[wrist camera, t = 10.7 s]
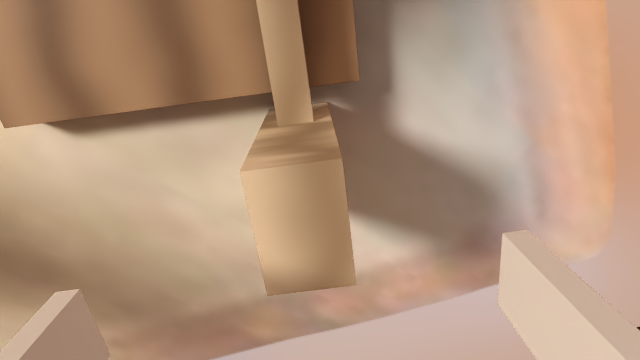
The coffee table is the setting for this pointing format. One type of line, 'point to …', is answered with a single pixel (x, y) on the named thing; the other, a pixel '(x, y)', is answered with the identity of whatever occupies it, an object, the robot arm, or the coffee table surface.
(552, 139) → the coffee table surface
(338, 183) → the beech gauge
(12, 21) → the walnut board
